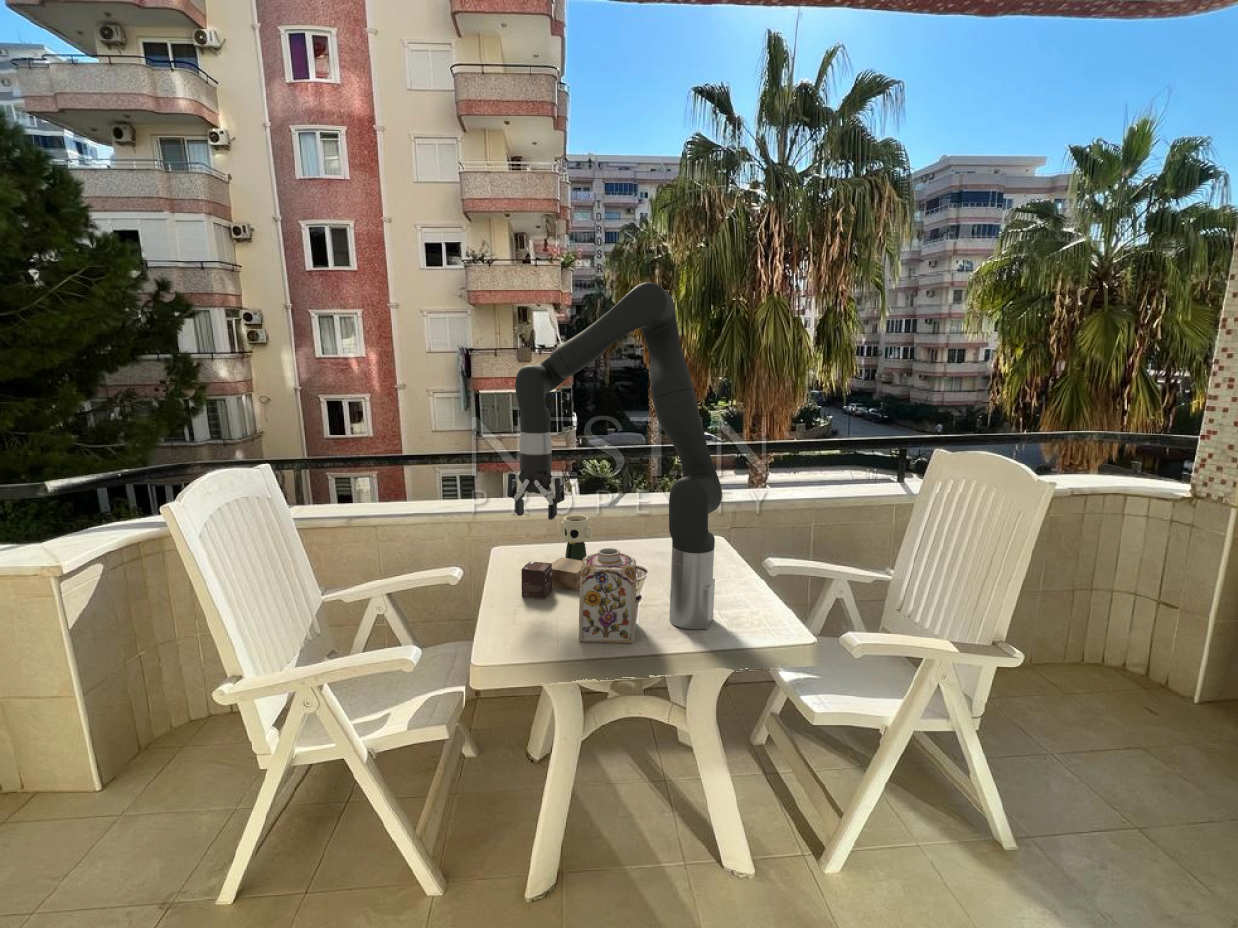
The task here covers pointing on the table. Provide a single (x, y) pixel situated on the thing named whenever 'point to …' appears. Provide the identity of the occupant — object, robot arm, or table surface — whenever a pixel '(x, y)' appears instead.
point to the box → (536, 580)
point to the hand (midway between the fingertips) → (535, 517)
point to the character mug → (576, 535)
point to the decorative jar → (607, 597)
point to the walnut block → (566, 574)
